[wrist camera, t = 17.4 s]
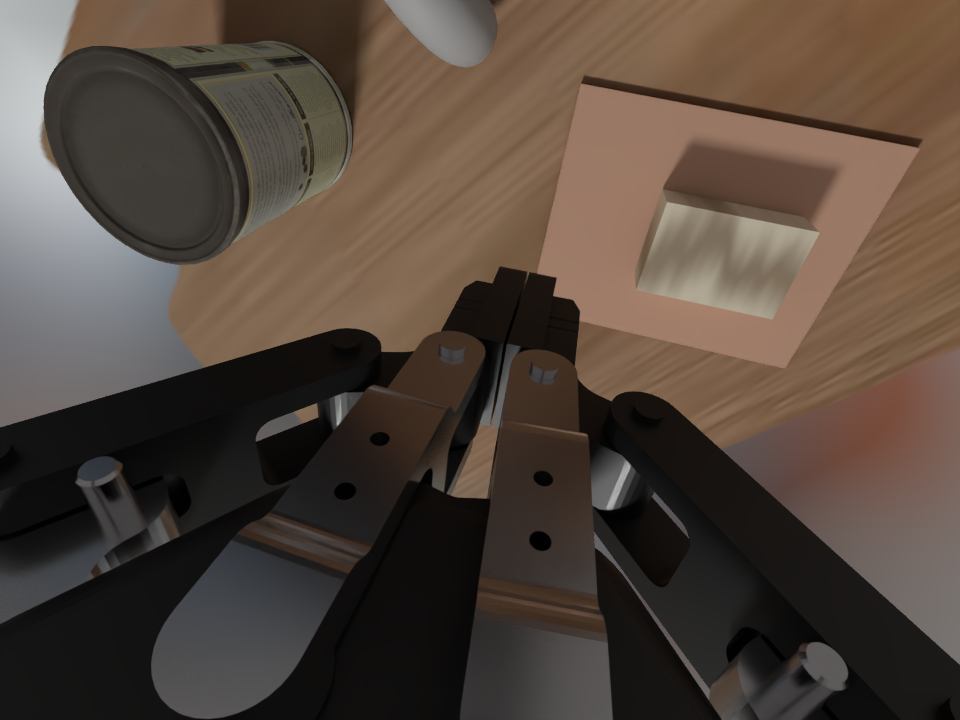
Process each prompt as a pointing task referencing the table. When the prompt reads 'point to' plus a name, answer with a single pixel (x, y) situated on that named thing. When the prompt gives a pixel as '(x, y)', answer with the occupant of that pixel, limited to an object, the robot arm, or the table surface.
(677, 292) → the beige rectangular block
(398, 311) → the table surface
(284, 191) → the coffee can
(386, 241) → the table surface
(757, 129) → the mat
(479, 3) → the donut
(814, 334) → the table surface
